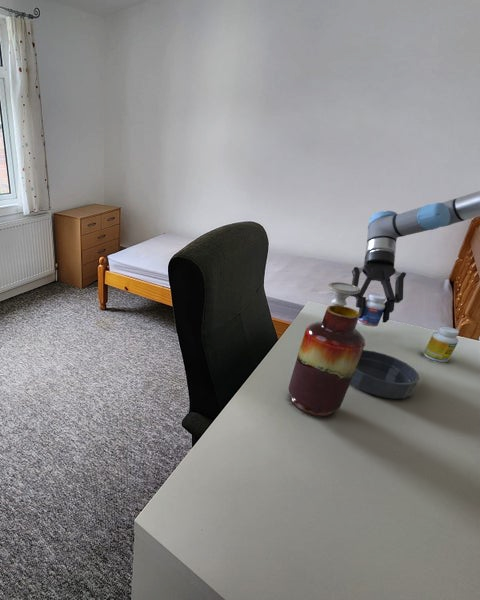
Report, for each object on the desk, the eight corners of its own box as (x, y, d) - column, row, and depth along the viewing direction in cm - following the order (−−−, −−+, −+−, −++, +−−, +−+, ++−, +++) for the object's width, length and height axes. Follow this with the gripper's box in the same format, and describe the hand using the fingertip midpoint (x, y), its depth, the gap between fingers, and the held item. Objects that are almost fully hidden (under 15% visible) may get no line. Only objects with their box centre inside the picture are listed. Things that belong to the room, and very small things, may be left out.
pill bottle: (361, 326, 109) (371, 298, 105) (353, 318, 114) (363, 292, 110) (381, 327, 108) (392, 300, 104) (372, 320, 113) (382, 293, 109)
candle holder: (303, 337, 113) (320, 280, 104) (332, 338, 111) (352, 281, 103) (315, 351, 105) (335, 291, 96) (347, 353, 103) (369, 293, 95)
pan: (380, 364, 98) (387, 349, 96) (428, 400, 85) (436, 384, 82) (327, 364, 99) (332, 350, 97) (365, 400, 85) (372, 384, 83)
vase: (347, 423, 78) (388, 325, 67) (294, 417, 80) (326, 320, 69) (325, 392, 88) (358, 301, 77) (279, 387, 90) (305, 298, 79)
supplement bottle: (428, 350, 104) (441, 323, 100) (451, 359, 100) (466, 331, 96) (419, 355, 102) (432, 327, 98) (442, 364, 98) (457, 336, 94)
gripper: (410, 263, 112) (405, 329, 106) (342, 256, 120) (334, 317, 114) (422, 252, 105) (417, 321, 99) (349, 246, 114) (341, 309, 108)
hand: (373, 318), depth 107 cm, fingers closed on pill bottle, 5 cm apart
